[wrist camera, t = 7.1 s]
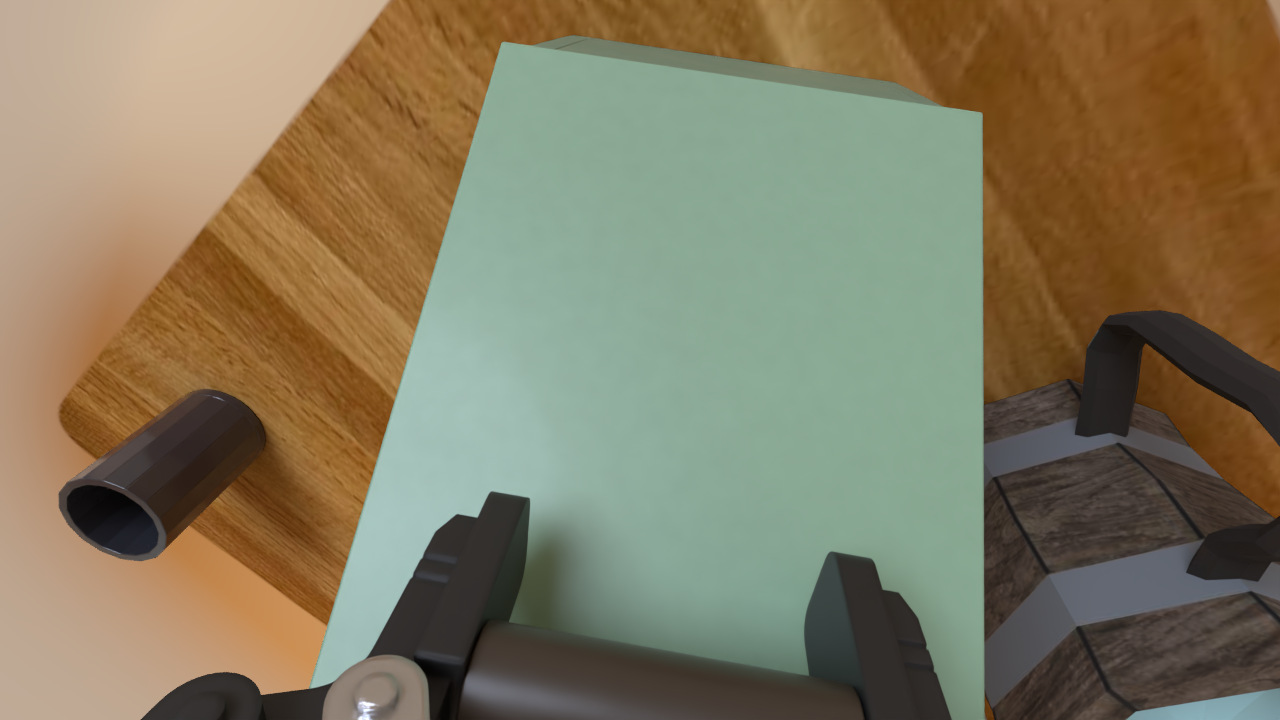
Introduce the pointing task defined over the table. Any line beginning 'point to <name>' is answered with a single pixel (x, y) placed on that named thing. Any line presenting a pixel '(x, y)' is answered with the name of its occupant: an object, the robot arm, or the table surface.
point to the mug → (1128, 544)
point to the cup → (162, 475)
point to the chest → (736, 68)
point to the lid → (692, 390)
